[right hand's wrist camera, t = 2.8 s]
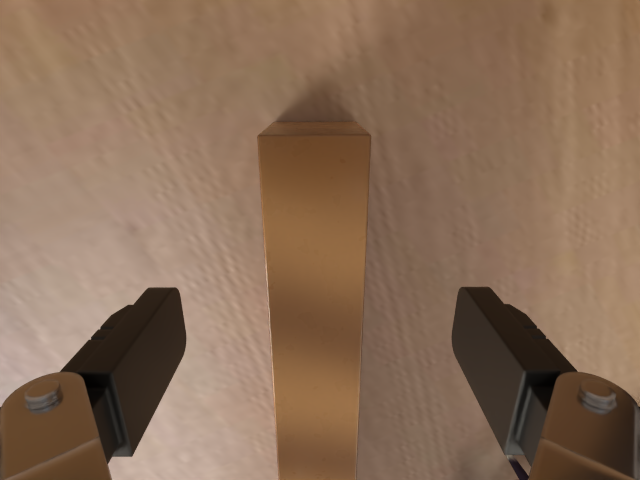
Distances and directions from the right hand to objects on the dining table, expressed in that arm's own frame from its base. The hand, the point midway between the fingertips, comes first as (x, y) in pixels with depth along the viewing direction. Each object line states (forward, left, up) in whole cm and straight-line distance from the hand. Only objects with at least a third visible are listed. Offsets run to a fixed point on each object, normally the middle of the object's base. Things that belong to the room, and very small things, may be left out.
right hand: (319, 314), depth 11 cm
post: (+21, -24, -12) cm, 34 cm away
